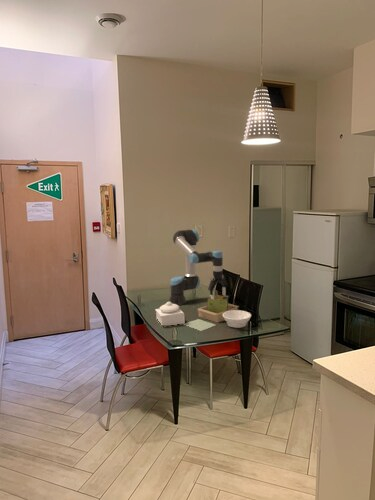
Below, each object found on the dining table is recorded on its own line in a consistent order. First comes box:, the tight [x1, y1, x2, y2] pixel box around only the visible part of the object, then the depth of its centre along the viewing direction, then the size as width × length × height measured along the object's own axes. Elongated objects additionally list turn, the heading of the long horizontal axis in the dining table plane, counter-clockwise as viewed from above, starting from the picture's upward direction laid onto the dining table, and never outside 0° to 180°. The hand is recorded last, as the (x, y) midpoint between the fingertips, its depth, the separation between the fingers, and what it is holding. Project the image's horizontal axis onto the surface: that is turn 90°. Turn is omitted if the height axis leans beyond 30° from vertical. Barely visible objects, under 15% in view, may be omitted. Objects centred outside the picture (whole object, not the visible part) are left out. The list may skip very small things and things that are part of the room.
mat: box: [182, 318, 217, 332], centre depth 279 cm, size 19×16×1 cm
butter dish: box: [154, 301, 186, 326], centre depth 286 cm, size 18×18×16 cm
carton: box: [196, 303, 240, 323], centre depth 298 cm, size 21×28×6 cm
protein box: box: [207, 294, 229, 314], centre depth 298 cm, size 10×15×16 cm
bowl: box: [223, 309, 252, 329], centre depth 277 cm, size 21×21×8 cm
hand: (218, 297), depth 296 cm, fingers open, 13 cm apart
